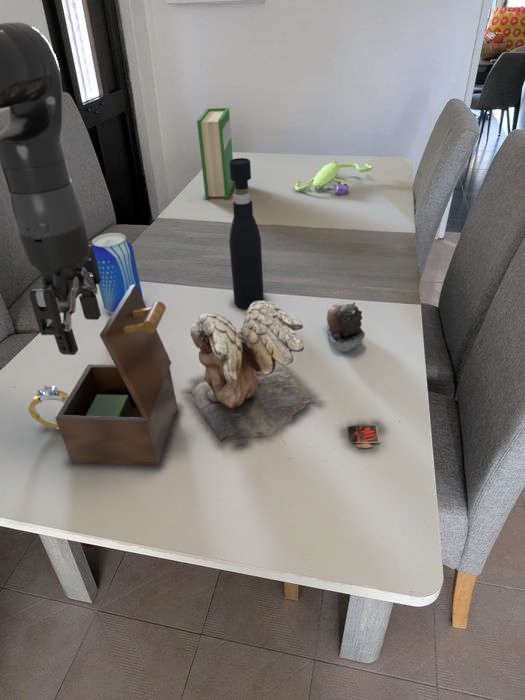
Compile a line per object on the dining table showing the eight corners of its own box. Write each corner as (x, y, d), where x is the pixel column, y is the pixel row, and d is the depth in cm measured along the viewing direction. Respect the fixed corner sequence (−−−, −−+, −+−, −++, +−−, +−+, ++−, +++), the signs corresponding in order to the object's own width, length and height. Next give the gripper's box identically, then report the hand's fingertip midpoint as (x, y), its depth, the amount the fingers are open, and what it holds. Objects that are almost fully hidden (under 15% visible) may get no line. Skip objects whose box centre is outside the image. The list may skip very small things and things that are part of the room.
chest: (71, 462, 76) (54, 418, 71) (101, 405, 86) (88, 363, 81) (157, 466, 75) (147, 421, 70) (177, 407, 85) (169, 365, 80)
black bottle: (254, 312, 109) (245, 167, 91) (228, 305, 111) (215, 163, 94) (269, 298, 113) (263, 157, 96) (244, 292, 116) (234, 154, 98)
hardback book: (228, 198, 167) (221, 119, 153) (205, 199, 168) (196, 120, 154) (234, 181, 182) (228, 107, 168) (213, 182, 182) (206, 108, 168)
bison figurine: (321, 324, 104) (322, 279, 98) (356, 322, 104) (359, 277, 98) (330, 359, 94) (332, 312, 88) (369, 357, 94) (373, 309, 88)
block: (93, 440, 79) (85, 416, 76) (104, 418, 83) (96, 394, 80) (124, 441, 78) (118, 417, 75) (134, 418, 82) (128, 394, 79)
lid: (99, 335, 62) (140, 327, 61) (130, 285, 72) (166, 277, 71) (144, 419, 70) (181, 414, 68) (166, 363, 80) (199, 358, 79)
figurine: (377, 177, 178) (378, 161, 175) (338, 200, 161) (338, 182, 158) (331, 170, 188) (331, 154, 184) (289, 191, 171) (289, 174, 168)
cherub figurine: (272, 355, 96) (269, 268, 85) (325, 412, 82) (328, 317, 72) (182, 386, 90) (167, 296, 79) (224, 453, 76) (211, 356, 66)
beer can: (97, 310, 112) (79, 241, 103) (128, 294, 117) (113, 227, 108) (121, 322, 108) (104, 251, 98) (152, 305, 113) (138, 237, 104)
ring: (84, 421, 83) (71, 382, 79) (77, 435, 81) (63, 396, 76) (43, 420, 84) (28, 382, 79) (34, 434, 81) (18, 395, 77)
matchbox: (344, 428, 79) (344, 426, 79) (375, 422, 80) (375, 420, 80) (354, 450, 75) (355, 448, 75) (387, 444, 76) (388, 441, 76)
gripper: (46, 201, 68) (76, 307, 77) (-11, 246, 56) (32, 365, 65) (101, 201, 67) (124, 309, 76) (55, 247, 55) (89, 367, 65)
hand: (82, 335), depth 71 cm, fingers open, 8 cm apart
